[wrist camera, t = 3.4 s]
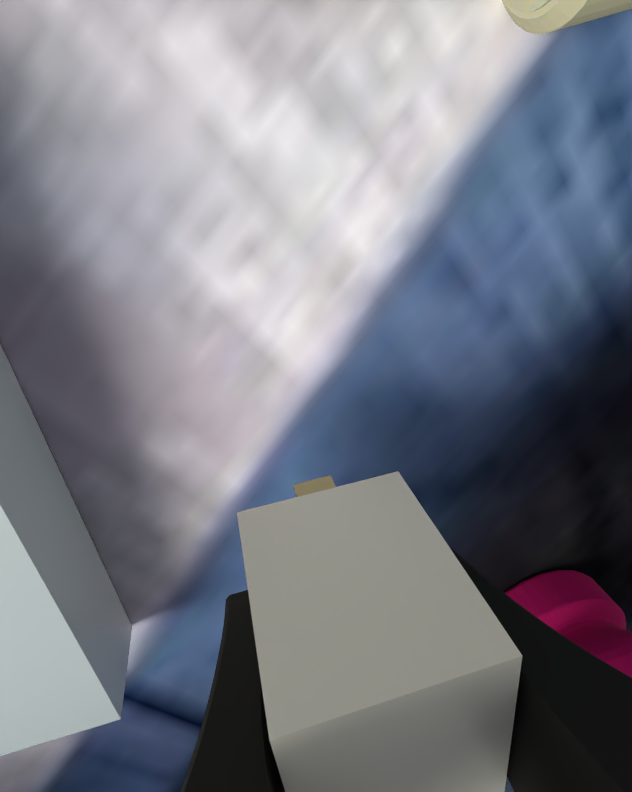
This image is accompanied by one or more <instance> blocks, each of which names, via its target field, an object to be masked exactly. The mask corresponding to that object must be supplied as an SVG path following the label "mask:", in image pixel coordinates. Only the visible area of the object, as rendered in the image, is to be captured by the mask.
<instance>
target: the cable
mask: <svg viewBox="0 0 632 792" xmlns="http://www.w3.org/2000/svg"><path fill="white" fill-rule="evenodd" d="M502 1H503V4H504V7H505V8H506V10H507V12H508V14H509V16H510V17H511V19H512V20H513V21H514V22H515V23H516V24H517V25H518V26H519V27H520V28H522V29H524V30H525V31H527V32H530V33H534V34H543V33H550V32H553V31H557V30H560V29H564V28H567V27H571V26H574V25H578V24H581V23H584V22H588V21H591V20H595V19H598V18H602V17H605V16H609V15H612V14H616V13H619V12H623V11H626V10H630V9H632V0H502Z"/></svg>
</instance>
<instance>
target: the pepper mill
mask: <svg viewBox="0 0 632 792" xmlns="http://www.w3.org/2000/svg"><path fill="white" fill-rule="evenodd" d="M505 594H507V595H508V596H509V597H510V598H512V599H513V600H514V601H515V602H517V603H518V604H519V605H521V606H522V607H523V608H525V609H526V610H527V611H529V612H530V613H531V614H533V615H534V616H536V617H537V618H538V619H540V620H541V621H543V622H544V623H545V624H547V625H548V626H550V627H551V628H553V629H554V630H556V631H557V632H558V633H560V634H561V635H563V636H564V637H566V638H567V639H569V640H570V641H572V642H573V643H575V644H577V645H578V646H580V647H581V648H583V649H584V650H586V651H588V652H589V653H591V654H592V655H594V656H596V657H597V658H599V659H601V660H602V661H604V662H606V663H607V664H609V665H611V666H612V667H614V668H616V669H617V670H619V671H621V672H622V673H624V674H626V675H628V676H630V677H631V678H632V631H628V630H626V620H625V614H624V612H623V611H622V609H621V608H620V607H619V606H618V605H617V604H616V603H615V602H614V601H613V600H612V599H611V598H610V597H609V596H608V594H607V593H606V592H605V591H604V590H603V589H602V588H601V587H600V586H599V585H598V584H597V583H596V582H595V581H594V580H593V579H592V578H591V577H589V576H587V575H585V574H583V573H581V572H577V571H574V570H555V571H550V572H546V573H542V574H539V575H536V576H534V577H532V578H529V579H527V580H525V581H522V582H521V583H519V584H517V585H516V586H514V587H512V588H511V589H509V590H508V591H506V592H505Z"/></svg>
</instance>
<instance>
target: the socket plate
mask: <svg viewBox="0 0 632 792" xmlns="http://www.w3.org/2000/svg"><path fill="white" fill-rule="evenodd" d="M131 630H132V625H131V623H130V621H129V619H128V617H127V614H126V612H125V610H124V608H123V606H122V604H121V602H120V599H119V597H118V595H117V593H116V591H115V589H114V586H113V584H112V582H111V580H110V578H109V576H108V574H107V571H106V569H105V567H104V565H103V563H102V561H101V559H100V556H99V554H98V552H97V550H96V548H95V546H94V544H93V541H92V539H91V537H90V535H89V533H88V531H87V529H86V526H85V524H84V522H83V520H82V518H81V516H80V514H79V511H78V509H77V507H76V505H75V503H74V501H73V499H72V496H71V494H70V492H69V490H68V488H67V486H66V484H65V481H64V479H63V477H62V475H61V473H60V471H59V468H58V466H57V464H56V462H55V460H54V458H53V456H52V453H51V451H50V449H49V447H48V445H47V443H46V441H45V438H44V436H43V434H42V432H41V430H40V428H39V426H38V423H37V421H36V419H35V417H34V415H33V413H32V411H31V408H30V406H29V404H28V402H27V400H26V398H25V396H24V393H23V391H22V389H21V387H20V385H19V383H18V381H17V378H16V376H15V374H14V372H13V370H12V368H11V366H10V363H9V361H8V359H7V357H6V355H5V353H4V350H3V348H2V346H1V344H0V756H3V755H6V754H9V753H12V752H16V751H19V750H22V749H25V748H29V747H32V746H35V745H38V744H42V743H45V742H48V741H51V740H55V739H58V738H61V737H64V736H68V735H71V734H74V733H77V732H81V731H84V730H87V729H91V728H94V727H97V726H100V725H104V724H107V723H110V722H113V721H117V720H120V719H121V714H122V706H123V697H124V689H125V681H126V672H127V664H128V655H129V647H130V639H131Z"/></svg>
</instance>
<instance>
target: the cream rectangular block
mask: <svg viewBox="0 0 632 792" xmlns="http://www.w3.org/2000/svg"><path fill="white" fill-rule="evenodd" d="M294 490H295V495H296V497H295V498H291V499H288V500H284V501H280V502H276V503H272V504H268V505H264V506H260V507H256V508H252V509H248V510H245V511H241V512H237V517H238V524H239V531H240V538H241V545H242V552H243V559H244V566H245V573H246V580H247V587H248V594H249V601H250V608H251V615H252V622H253V629H254V636H255V643H256V650H257V657H258V664H259V671H260V678H261V685H262V692H263V699H264V706H265V713H266V720H267V728H268V735H269V741H270V744H271V747H272V750H273V754H274V757H275V760H276V763H277V767H278V770H279V773H280V776H281V779H282V783H283V786H284V789H285V792H505V784H506V777H507V769H508V762H509V754H510V746H511V739H512V731H513V724H514V716H515V708H516V701H517V693H518V686H519V678H520V670H521V663H522V654H521V653H520V651H519V650H518V648H517V647H516V645H515V644H514V642H513V641H512V639H511V638H510V637H509V635H508V634H507V632H506V631H505V629H504V628H503V626H502V625H501V623H500V622H499V620H498V619H497V617H496V616H495V614H494V613H493V611H492V610H491V608H490V607H489V605H488V604H487V602H486V601H485V599H484V598H483V596H482V595H481V593H480V592H479V591H478V589H477V588H476V586H475V585H474V583H473V582H472V580H471V579H470V577H469V576H468V574H467V573H466V571H465V570H464V568H463V567H462V565H461V564H460V562H459V561H458V559H457V558H456V556H455V555H454V553H453V552H452V550H451V549H450V547H449V546H448V545H447V543H446V542H445V540H444V539H443V537H442V536H441V534H440V533H439V531H438V530H437V528H436V527H435V525H434V524H433V522H432V521H431V519H430V518H429V516H428V515H427V513H426V512H425V510H424V509H423V507H422V506H421V504H420V503H419V501H418V500H417V498H416V497H415V496H414V494H413V493H412V491H411V490H410V488H409V487H408V485H407V484H406V482H405V481H404V479H403V478H402V476H401V475H400V473H399V472H398V471H397V472H393V473H389V474H385V475H381V476H378V477H374V478H370V479H366V480H362V481H358V482H354V483H350V484H346V485H342V486H338V487H336V486H335V484H334V482H333V480H332V477H331V475H330V476H326V477H322V478H318V479H314V480H310V481H306V482H302V483H298V484H294Z"/></svg>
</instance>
